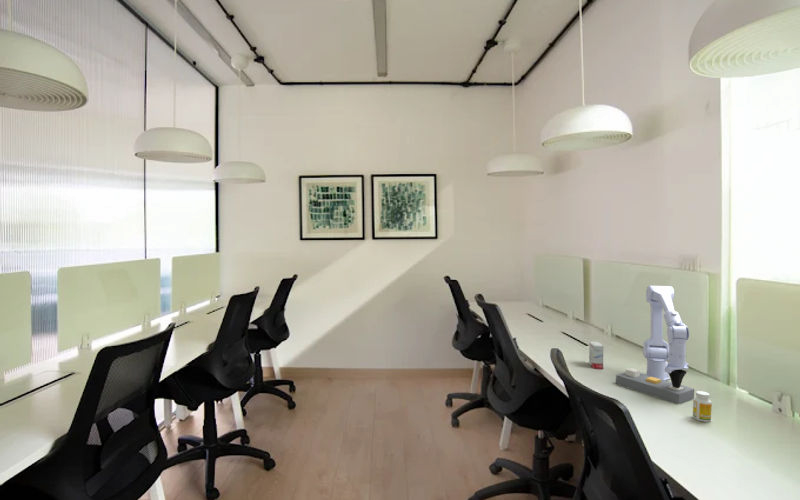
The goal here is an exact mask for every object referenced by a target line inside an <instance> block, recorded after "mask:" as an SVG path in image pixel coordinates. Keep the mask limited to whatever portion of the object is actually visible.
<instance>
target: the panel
mask: <svg viewBox="0 0 800 500" xmlns="http://www.w3.org/2000/svg"><path fill="white" fill-rule="evenodd" d="M649 377H652V376H648V375H647V374H644V373H641V372H640V376H639V377H636V378H634V377H631V376H627V375H626V371H624V372H622V373H618V374H616V375H615V384H617V385H618V386H622V387H625V388H628V389H630V390H634V391H637V392H641V393H643V394H646V395H649V396H652V397H656V398H659V399H661V400H665V401H668V402H670V403H673V404H677V405H681V404H683V403H686V402H688V401H691V400H693V399H694V397H695V388H693V387H690V386H689V387H688V386H686V385H682V384H681V385H680V387H683V388H684V390H681V391H677V390H674V389H670V388H668V386H671V385H672V382H671V381H669V380H662V379H661V383H658V384H654V383H651V382H647V381H646V378H649ZM654 378H655V377H654ZM657 379H659V378H657Z"/></svg>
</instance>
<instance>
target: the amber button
mask: <svg viewBox="0 0 800 500" xmlns="http://www.w3.org/2000/svg"><path fill="white" fill-rule="evenodd" d="M646 381H647V382H651V383H654V384H658V383H661V379H657V378H654V377H649V378H646Z"/></svg>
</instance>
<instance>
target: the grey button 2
mask: <svg viewBox="0 0 800 500" xmlns="http://www.w3.org/2000/svg"><path fill="white" fill-rule="evenodd" d="M668 388H670V389H674V390H677V391H681V390H684V388H683V387H680V388H675V387H673V386H672V385H671V386H668Z"/></svg>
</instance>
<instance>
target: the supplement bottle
mask: <svg viewBox="0 0 800 500" xmlns="http://www.w3.org/2000/svg"><path fill="white" fill-rule="evenodd" d="M710 396H711V395H710V393H708V392H706V391H702V390H696V391H695V396H694V399H692V401H693V402H692V417H693V419H694V420H696V421H700V422H705V423H709V422H711V421H712V403H713V402H712V400H710V398H711V397H710Z"/></svg>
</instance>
